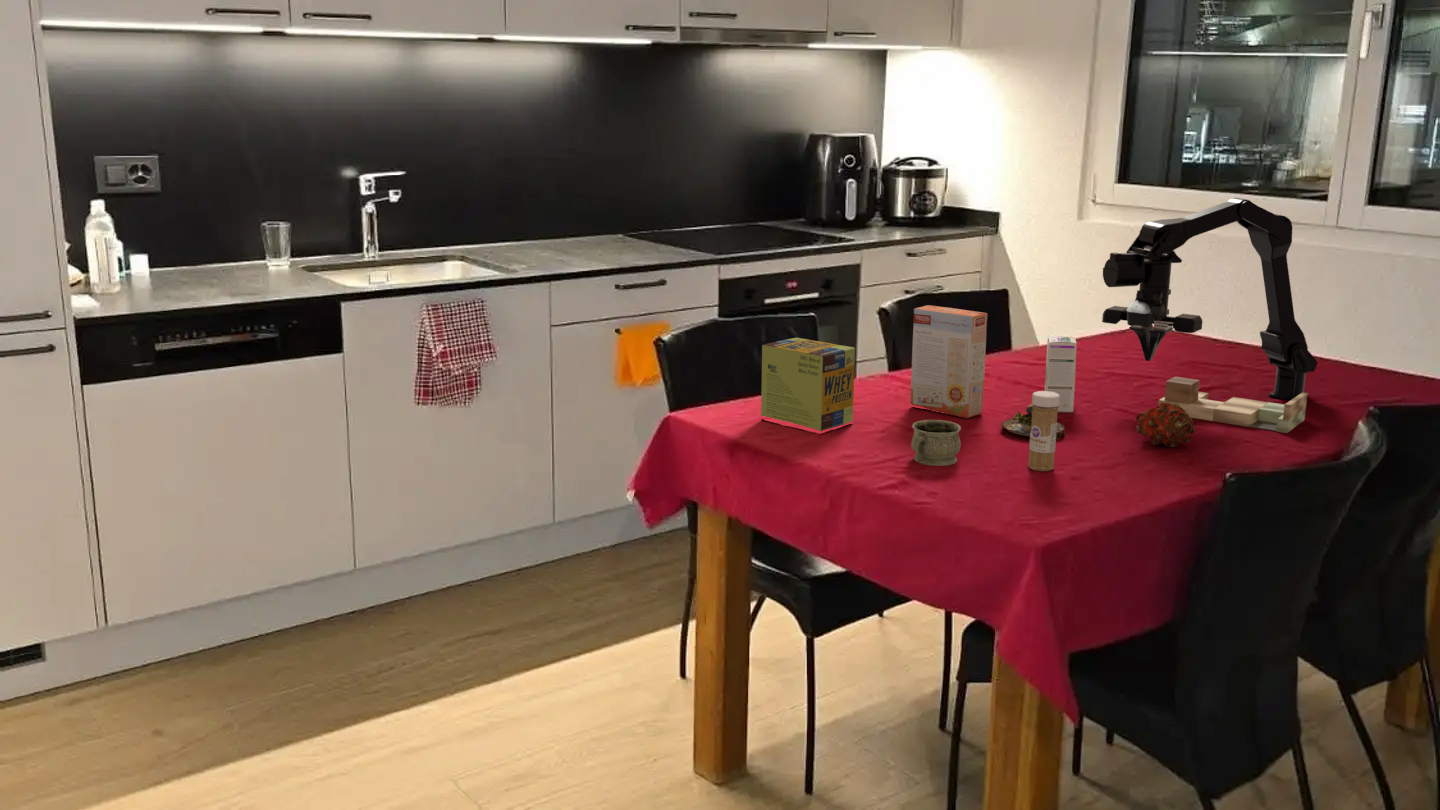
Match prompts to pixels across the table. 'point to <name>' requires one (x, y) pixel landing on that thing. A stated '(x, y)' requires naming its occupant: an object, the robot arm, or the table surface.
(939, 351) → the cracker box
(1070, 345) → the syrup box
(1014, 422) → the plate with green herbs
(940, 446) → the vessel
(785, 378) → the protein box
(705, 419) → the table surface
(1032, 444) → the sprinkles bottle
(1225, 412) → the trap deck
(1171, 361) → the table surface
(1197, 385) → the walnut block
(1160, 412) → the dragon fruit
